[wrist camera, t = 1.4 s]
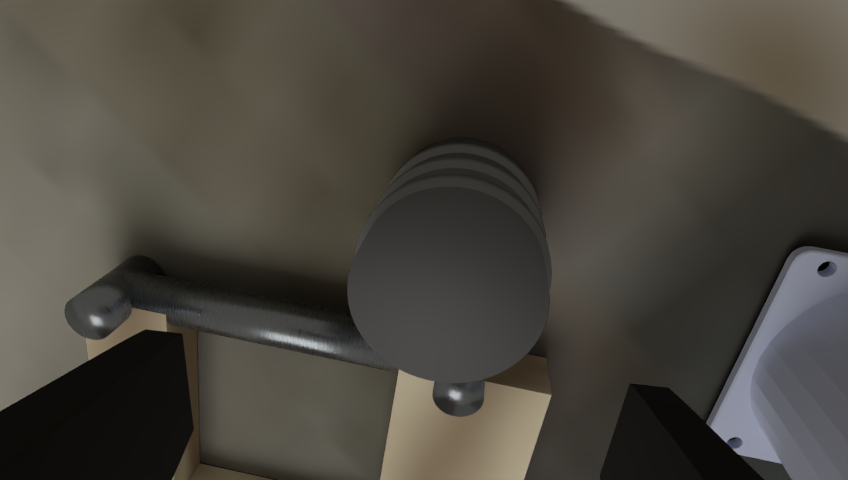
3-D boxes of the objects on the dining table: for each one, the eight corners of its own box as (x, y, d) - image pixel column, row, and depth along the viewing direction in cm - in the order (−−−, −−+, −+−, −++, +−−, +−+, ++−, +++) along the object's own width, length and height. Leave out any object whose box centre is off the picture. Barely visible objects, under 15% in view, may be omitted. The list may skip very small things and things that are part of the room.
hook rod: (490, 326, 19) (488, 381, 16) (481, 363, 20) (478, 421, 17) (121, 252, 20) (61, 292, 17) (125, 289, 20) (67, 334, 18)
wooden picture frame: (546, 358, 19) (551, 395, 18) (471, 600, 25) (469, 647, 23) (118, 269, 20) (80, 297, 18) (141, 525, 26) (114, 565, 24)
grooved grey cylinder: (555, 148, 16) (583, 223, 11) (518, 285, 18) (527, 406, 13) (399, 119, 17) (351, 178, 11) (380, 258, 19) (332, 364, 13)
